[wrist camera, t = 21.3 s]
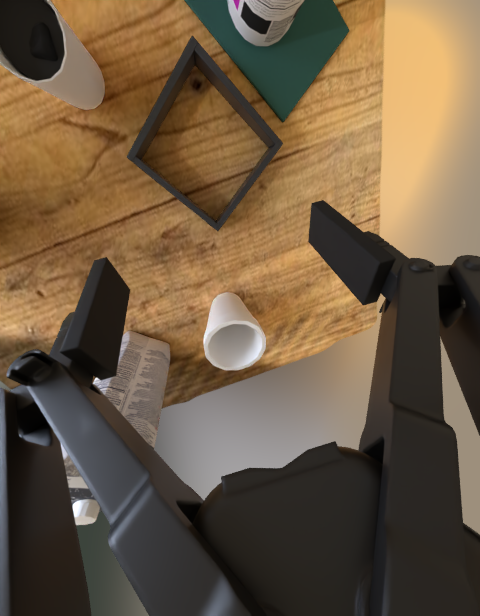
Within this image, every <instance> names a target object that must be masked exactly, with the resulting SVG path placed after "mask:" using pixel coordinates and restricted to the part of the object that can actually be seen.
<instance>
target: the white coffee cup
mask: <svg viewBox="0 0 480 616" xmlns="http://www.w3.org/2000/svg"><path fill="white" fill-rule="evenodd" d="M0 64H1V65H2V66H3V67H5V68H6V69H7V70H9V71H10V72H12V73H13V74H14V75H16V76H17V77H19V78H20V79H22V80H24V81H26V82H28V83H30V84H32V85H34V86H36V87H38V88H40V89H42V90H44V91H46V92H47V93H49V94H51V95H53V96H55V97H57V98H59V99H61V100H63V101H65V102H67V103H69V104H71V105H73V106H75V107H77V108H80V109H84V110H90V109H95V108H96V107H97V106H98V105H100V104H101V103H102V100H103V97H104V95H105V81H104V79H103V76H102V73H101V70H100V68H99V66H98V65H97V63H96V62H95V60H94V59H93V57H92V56H91V55H90V53H89V52H88V51H87V49H86V48H85V47H84V45H83V44H82V43H81V41H80V40H79V39H78V37H77V36H76V35H75V33H74V32H73V30H72V29H71V28H70V26H69V25H68V24H67V22H66V21H65V20H64V18H63V17H62V16H61V14H60V13H59V12H58V10H57V9H56V7H55V6H54V5H53V3H52V2H51V1H50V0H0Z"/></svg>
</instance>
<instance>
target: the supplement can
mask: <svg viewBox="0 0 480 616" xmlns="http://www.w3.org/2000/svg"><path fill="white" fill-rule="evenodd" d="M227 1H228V8H229V13H230V15H231V17H232V20H233V22H234V25H235V27H236V29H237V30H238V31H239V33H240V34H241V35H242V36H243V38H244V39H245V40H247V41H248V42H250V43H252V44H254V45H255V46H270V45H272V44H274V43H276V42H278V41H279V40H280V39H281V38H282V37H283V35H284V34H285V33H286V32H287V31H288V29H289V28H290V26H291V24H292V22H293V20H294V18H295V17H296V15H297V13H298V11H299V9H300V7H301V6H302V4H303V2H304V0H227Z"/></svg>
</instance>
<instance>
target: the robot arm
mask: <svg viewBox="0 0 480 616" xmlns="http://www.w3.org/2000/svg"><path fill="white" fill-rule="evenodd" d="M308 242H309V243H310V244H311V245H312V246H313V247H314V249H315V250H316V251H317V252H318V253H319V254H320V256H321V257H322V258H323V259H324V260H325V261H326V263H327V264H328V265H329V266H330V267H331V268H332V270H333V271H334V272H335V273H336V274H337V275H338V277H339V278H340V279H341V280H342V281H343V282H344V284H345V285H346V286H347V287H348V288H349V289H350V291H351V292H352V293H353V294H354V295H355V296H356V298H357V299H358V300H359V301H360V302H361V303H362V305H367V304H370V303H374V302H377V300H378V298H379V296H380V294H382V295H383V296H384V297H385V298H386V299H385V301H384V303H383V305H382V307H381V309H380V311H379V312H380V313H381V312H382V316H381V323H380V330H379V336H378V343H377V350H376V358H375V364H374V370H373V377H372V385H371V391H370V398H369V404H368V411H367V418H366V424H365V428H364V431H363V433H362V436H361V439H360V445H359V451H358V450H355V449H351V448H347V447H339V446H337V444H336V442H331V443H328V444H325V445H322V446H318V447H315V448H312V449H309V450H307V451H305V452H304V453H303V454H301V455H300V456H298V457H297V458H296V459H294V460H293V461H292V462H290V463H289V464H288V465H286V466H285V467H283V468H277V469H275V468H274V469H273V468H248V469H245V470H242V471H238V472H235V473H232V474H229V475H225V476H222V477H221V480H222V483H220V484H219V485H218V486H217V487H216V488H215V489H213V490H212V491H211V493H210V494H209V495H208V496H207V498H206V499H205V500H203V499H202V498H201V497H200V496H199V495H198V494H197V493H196V492H195V491H194V490H193V489H192V488H191V487H189V486H188V485H186V484H185V483H184V482H183V481H182V480H181V479H180V478H179V477H178V476H177V475H176V474H175V473H174V472H173V470H172V469H171V468H170V467H169V466H168V465H167V464H166V463H165V462H164V461H163V459H162V458H161V457H160V456H159V455H158V454H157V453H156V452H155V451H154V449H153V448H152V447H151V446H150V445H149V444H148V443H147V442H146V440H145V439H144V438H143V437H142V436H141V435H140V434H139V433H138V432H137V430H136V429H135V428H134V427H133V426H132V425H131V424H130V423H129V422H128V420H127V419H126V418H125V417H124V416H123V415H122V414H121V413H120V412H119V410H118V409H117V408H116V407H115V406H114V405H113V404H112V403H111V402H110V400H109V399H108V398H107V397H106V396H105V395H104V394H103V393H102V392H101V391H100V389H99V388H98V387H97V386H96V385H94V384H93V383H92V379H93V375H94V376H95V377H97V378H98V379H100V380H105V379H108V378H112V377H115V376H116V374H117V368H118V362H119V356H120V349H121V343H122V337H123V331H124V325H125V319H126V312H127V306H128V300H129V294H130V289H129V287H128V286H127V285H126V283H125V282H124V280H123V279H122V278H121V276H120V275H119V274H118V272H117V271H116V269H115V268H114V267H113V265H112V264H111V262H110V261H109V260H108V258H107V257H106V258H102V259H98V260H94V263H93V265H92V268H91V270H90V273H89V276H88V278H87V281H86V284H85V286H84V289H83V292H82V294H81V297H80V299H79V302H78V305H77V307H76V310H75V312H72V313H70V314H69V315H68V316H67V317H66V319H65V320H64V321H63V323H62V325H61V328H60V331H59V333H58V335H57V337H58V338H56V340H55V342H54V345H53V347H52V350H51V352H50V355H47V354H46V353H44V352H42V351H41V350H39V349H37V350H31V351H28V352H26V353H24V354H23V355H21V356H20V357H18V358H17V359H16V360H15V361H14V362H13V363H12V364H11V366H10V367H9V369H8V371H7V378H9V379H12V380H14V381H16V382H18V383H20V384H21V385H20V386H18V387H16V388H14V389H12V390H10V391H7V390H5V389H3V388H0V616H91V608H90V601H89V594H88V587H87V582H86V576H85V571H84V566H83V560H82V556H81V550H80V545H79V539H78V534H77V529H76V523H75V518H74V512H73V507H72V502H71V496H70V491H69V486H68V480H67V475H66V470H65V464H64V459H63V454H62V448H61V444H62V446H63V447H64V449H65V451H66V452H67V454H68V455H69V457H70V459H71V460H72V462H73V464H74V465H75V467H76V469H77V470H78V472H79V473H80V475H81V477H82V478H83V480H84V482H85V483H86V485H87V486H88V488H89V490H90V491H91V493H92V495H93V496H94V498H95V500H96V501H97V503H98V504H99V506H100V508H101V509H102V511H103V513H104V514H105V516H106V518H107V519H108V521H109V523H110V527H111V529H110V532H109V534H108V542H109V545H110V547H111V550H112V552H113V554H114V555H115V557H116V559H117V561H118V562H119V564H120V566H121V567H122V569H123V571H124V573H125V574H126V576H127V578H128V580H129V581H130V583H131V585H132V586H133V588H134V590H135V592H136V594H137V595H138V597H139V599H140V600H141V602H142V604H143V606H144V607H145V609H146V611H147V613H148V614H149V616H480V535H479V534H478V533H477V532H475V531H474V530H473V529H471V528H470V527H468V526H467V525H465V524H464V523H463V518H462V506H461V491H460V478H459V465H458V464H459V463H458V449H457V439H456V434H455V432H454V430H453V428H452V427H451V426H450V425H448V424H447V423H446V422H445V420H444V414H443V394H442V393H443V392H442V368H441V346H440V337H441V339H442V342H443V344H444V347H445V349H446V352H447V354H448V357H449V359H450V362H451V364H452V367H453V370H454V372H455V375H456V377H457V380H458V382H459V385H460V387H461V390H462V392H463V395H464V397H465V400H466V402H467V405H468V407H469V410H470V412H471V415H472V418H473V420H474V423H475V425H476V427H477V430H478V432H479V435H480V257H478V256H472V255H465V256H460V257H457V259H456V260H455V261H454V263H453V264H452V265H445V266H435V265H434V264H433V263H432V262H429V261H427V260H425V259H420V258H410V259H409V258H407V257H406V256H405V255H403V254H402V253H401V252H400V251H398V250H397V249H396V248H394V247H393V246H392V245H390V244H389V243H388V242H386V241H384V239H382V238H381V237H380V236H378V235H377V234H374V233H371V232H369V231H367V232H362V231H361V230H360V229H359V228H357V227H356V226H355V225H354V224H352V223H351V222H350V221H349V220H347V219H346V218H345V217H344V216H342V215H341V214H340V213H339V212H337V211H336V210H335V209H334V208H332V207H331V206H330V205H329V204H327V203H326V202H325V201H324V200H322V201H318V202H314V203H312V205H311V217H310V229H309V241H308ZM60 442H61V443H60Z"/></svg>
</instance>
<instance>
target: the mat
mask: <svg viewBox="0 0 480 616" xmlns="http://www.w3.org/2000/svg"><path fill="white" fill-rule="evenodd" d="M185 2H186V3H187V4H188V5H189V7H190V8H191V9H192V10H193V12H194V13H195V14H196V15H197V17H198V18H199V19H200V20H201V22H202V23H203V24H204V25H205V27H206V28H207V29H208V30H209V32H210V33H211V34H212V35H213V37H214V38H215V39H216V40H217V42H218V43H219V44H220V45H221V46H222V48H223V49H224V50H225V51H226V53H227V54H228V55H229V56H230V58H231V59H232V60H233V61H234V63H235V64H236V65H237V66H238V68H239V69H240V70H241V71H242V73H243V74H244V75H245V76H246V78H247V79H248V80H249V81H250V83H251V84H252V85H253V86H254V88H255V89H256V90H257V91H258V93H259V94H260V95H261V96H262V98H263V99H264V100H265V101H266V103H267V104H268V105H269V106H270V108H271V109H272V110H273V111H274V112H275V114H276V115H277V116H278V117H279V119H280V120H281V121H282V122H284V121H285V119H286V118H287V116H288V115H289V114H290V112H291V111H292V110H293V108H294V107H295V105H296V104H297V103H298V101H299V100H300V98H301V97H302V96H303V94H304V93H305V92H306V90H307V89H308V87H309V86H310V85H311V83H312V82H313V80H314V79H315V78H316V76H317V75H318V74H319V72H320V71H321V69H322V68H323V67H324V65H325V64H326V62H327V61H328V60H329V58H330V57H331V56H332V54H333V53H334V51H335V50H336V49H337V47H338V46H339V44H340V43H341V42H342V40H343V39H344V38H345V36H346V35H347V33H348V32H349V29H348V27H347V25H346V23H345V22H344V20H343V18H342V16H341V14H340V12H339V11H338V9H337V7H336V5H335V3H334V2H333V0H304V2H303V4H302V6H301V7H300V9H299V11H298V13H297V15H296V17H295V18H294V20H293V22H292V24H291V26H290V28H289V29H288V31H287V32H286V33H285V34H284V35H283V37H282V38H281V39H280V40H279V41H278V42H276V43H274V44H272V45H270V46H255V45H254V44H252V43H250V42H248V41H247V40H245V39H244V38H243V36H242V35H241V34H240V33H239V31H238V30H237V29H236V27H235V25H234V22H233V20H232V17H231V15H230V13H229V8H228V1H227V0H185Z"/></svg>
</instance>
